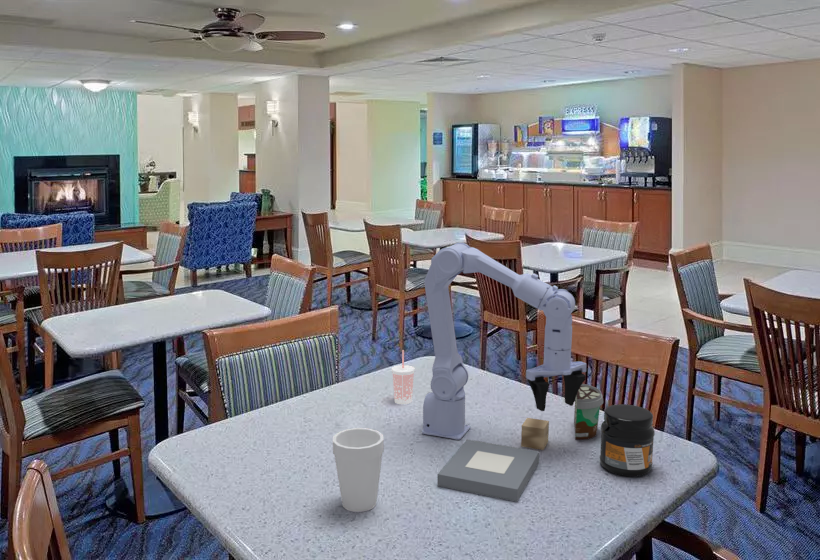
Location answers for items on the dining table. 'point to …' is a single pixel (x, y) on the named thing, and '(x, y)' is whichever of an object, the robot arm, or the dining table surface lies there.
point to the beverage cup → (403, 382)
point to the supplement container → (627, 440)
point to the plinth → (489, 470)
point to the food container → (587, 412)
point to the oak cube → (534, 433)
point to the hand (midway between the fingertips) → (555, 406)
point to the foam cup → (358, 466)
